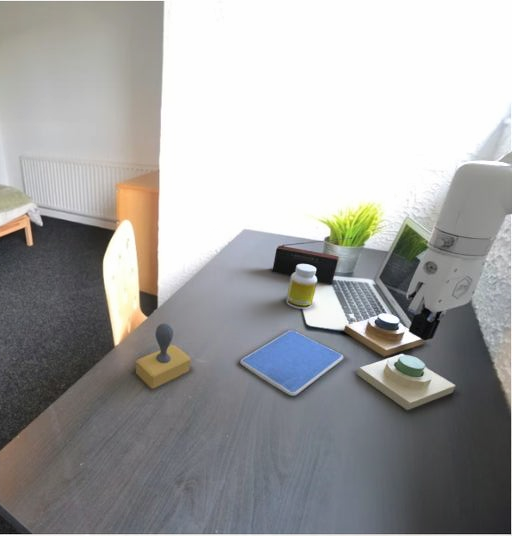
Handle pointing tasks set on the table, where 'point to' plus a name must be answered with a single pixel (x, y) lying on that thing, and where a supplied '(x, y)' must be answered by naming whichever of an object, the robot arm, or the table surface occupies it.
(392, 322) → the blue button
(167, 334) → the rubber stamp
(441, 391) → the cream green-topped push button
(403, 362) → the green button
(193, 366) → the table surface
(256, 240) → the table surface
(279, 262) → the radio
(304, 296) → the pill bottle
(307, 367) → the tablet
